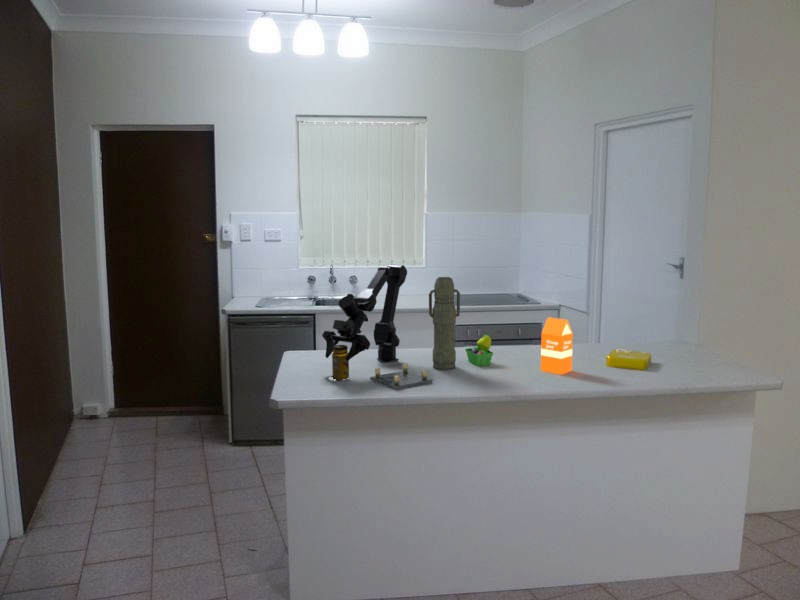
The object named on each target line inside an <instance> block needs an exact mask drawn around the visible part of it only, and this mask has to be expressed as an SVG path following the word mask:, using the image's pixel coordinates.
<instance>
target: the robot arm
mask: <svg viewBox="0 0 800 600" xmlns="http://www.w3.org/2000/svg"><path fill="white" fill-rule="evenodd" d="M407 276H408V269H407V268H406V266H405V265H403V264H402V265H401V264H399V265H398V264H388V265H381V266H378V268H377V271H376V273H375V275H374V276H373V277H372V278H371V280H370V282H369V283H368V286H367V287H366V288H365V289H364V290H363V291H361V292H359V293H358V294H357V296H356V297H355V296H354V295H353V293H347V295H346V296H343V297H342V298H341V299H339V301H338V304H337V305H338V307H339V308H340V310H341V311H342V312H343V313H344V315H345V316H346V317H348V319H346V320H341V319H334V321H333V325H332V329H333V330H336V332H337V333H338V334H339V335H337V334H336V333H335V331H333V330H323V333H322V335H321V337H322V338H323V339H324V340H325V342H326V348H325V355H324V356H325V358H326V359H328V358H329V357H330V356H331V355H332V354H333V347H334V346H335V345H337V344H338V345H339V342H342V343H343V342H345V343H350V344H351V346H350V348H349V349H348V350H349V351H348V354H347V357H346V361H348V360H349V361H350V360H351V359H353V358H354V357H355V356H357V355H358V354H360V353H361V352H365V351H366V350H369V349H370V346H371V342H370V341H369V339H368V337H366V335H365V334H362V330H361V328H362V326H363V324H364V323H365V322H369V317H368V314H366V313H365V312H368V313H369V312H371V313H372V312H373V310H374V309H375V306H376V304H377V297H378V295H379V293H380V292H381V290H382V289H383V287H384V286H385V284H386V283H387V287H386V288H387V289H386V292H385V297H384V303H383V304H384V305H383V308H382V315H381V319H380V320H379V322H375V324H374V330H373V340H374V343H375V346H378V350H377V357H376V360H378V361H381V362H383V363H390V362H395V361H399V358H398V357H397V347H398V346H400V341H401V339H400V338H399V337H398V336H397V334H396V333H397V332H396V331H397V329H396V328H397V327H396V325H395V323H394V320H395V314H396V308H397V306H398V305H397V304H398V298H399V293H400V288H401V287H402V286H403V284H404V283H405V282H406V279H407Z"/></svg>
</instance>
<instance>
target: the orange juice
mask: <svg viewBox="0 0 800 600" xmlns="http://www.w3.org/2000/svg"><path fill="white" fill-rule="evenodd" d="M573 334H574V333H573V331H572V329H571V326H570V323H569V321H568V319H561V318H556V317H547V319H546V320H545V324H544V326H543V329H542V331H541V345H540V347H541V348H540V371H541V372H545V373H551V374H554V375H555V374H556V375H559V376H560V375H564V374H567V373H569V372H572V368H573V367H572V366H573V365H572V364H573V337H574V335H573Z"/></svg>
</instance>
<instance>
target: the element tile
mask: <svg viewBox="0 0 800 600" xmlns="http://www.w3.org/2000/svg"><path fill="white" fill-rule="evenodd" d="M605 361H606V363H605V364H606V365H605V366H606V367H608V368H616V369H627V370H636V371H647V370H648V368H649V366H650V365H651V364H652V353H651V352H649V351H647V352H646V351H638V350H627V349H622V348H619V349H618V348H617V349H612V350H611V351H610V352H609V353H608V354H607V355H606V359H605Z"/></svg>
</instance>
